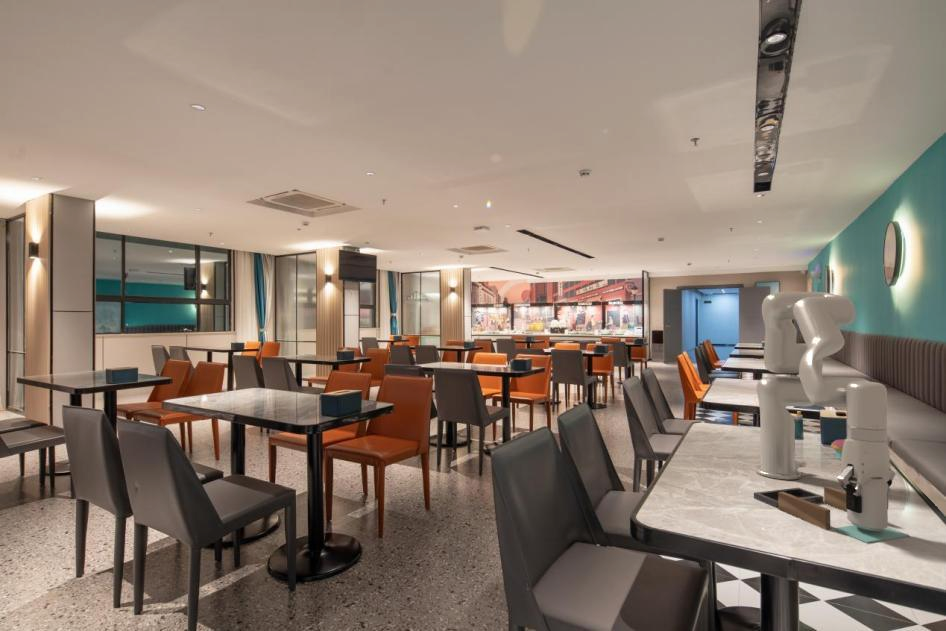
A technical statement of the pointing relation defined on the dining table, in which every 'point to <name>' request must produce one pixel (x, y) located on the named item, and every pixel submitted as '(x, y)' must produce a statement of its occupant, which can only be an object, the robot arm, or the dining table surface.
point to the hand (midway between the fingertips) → (867, 508)
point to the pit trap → (772, 496)
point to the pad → (871, 534)
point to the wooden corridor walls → (813, 506)
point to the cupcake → (838, 447)
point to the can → (871, 506)
